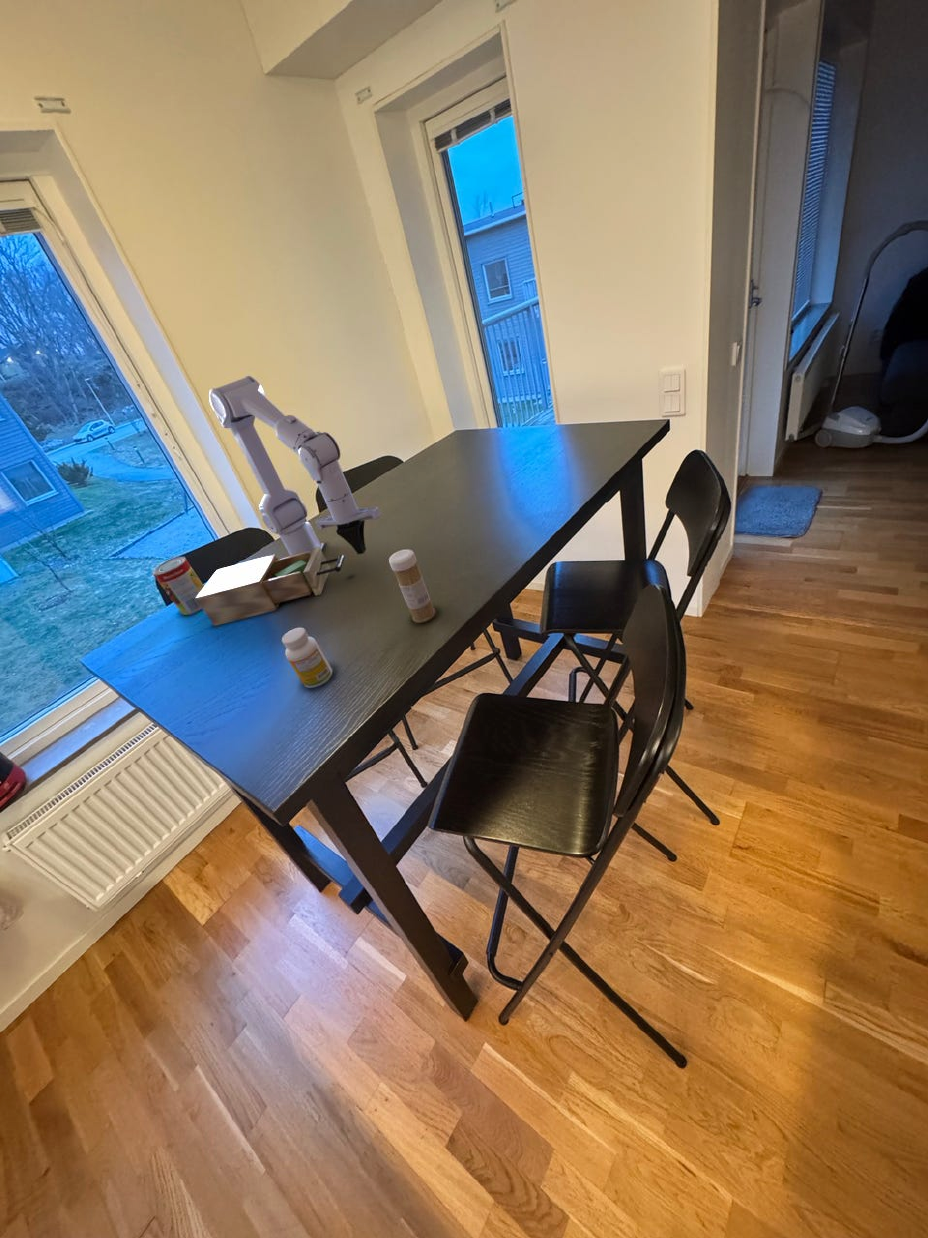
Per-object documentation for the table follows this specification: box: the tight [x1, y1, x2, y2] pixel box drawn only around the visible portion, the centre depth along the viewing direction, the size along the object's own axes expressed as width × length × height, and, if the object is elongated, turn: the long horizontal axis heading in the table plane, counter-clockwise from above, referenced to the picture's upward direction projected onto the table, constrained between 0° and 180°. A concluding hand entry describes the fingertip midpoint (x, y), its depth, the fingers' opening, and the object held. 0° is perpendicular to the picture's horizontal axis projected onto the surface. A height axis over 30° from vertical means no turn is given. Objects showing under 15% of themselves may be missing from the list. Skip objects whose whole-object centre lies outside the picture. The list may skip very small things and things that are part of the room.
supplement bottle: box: [281, 627, 333, 689], centre depth 82 cm, size 5×5×10 cm
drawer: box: [261, 547, 346, 604], centre depth 112 cm, size 20×12×6 cm, turn 92°
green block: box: [275, 560, 308, 583], centre depth 112 cm, size 7×3×4 cm, turn 132°
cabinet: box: [195, 553, 281, 627], centre depth 113 cm, size 15×13×8 cm
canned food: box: [151, 556, 205, 616], centre depth 119 cm, size 8×8×12 cm
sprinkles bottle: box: [388, 549, 436, 624], centre depth 88 cm, size 5×5×13 cm
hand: (362, 551), depth 109 cm, fingers closed
